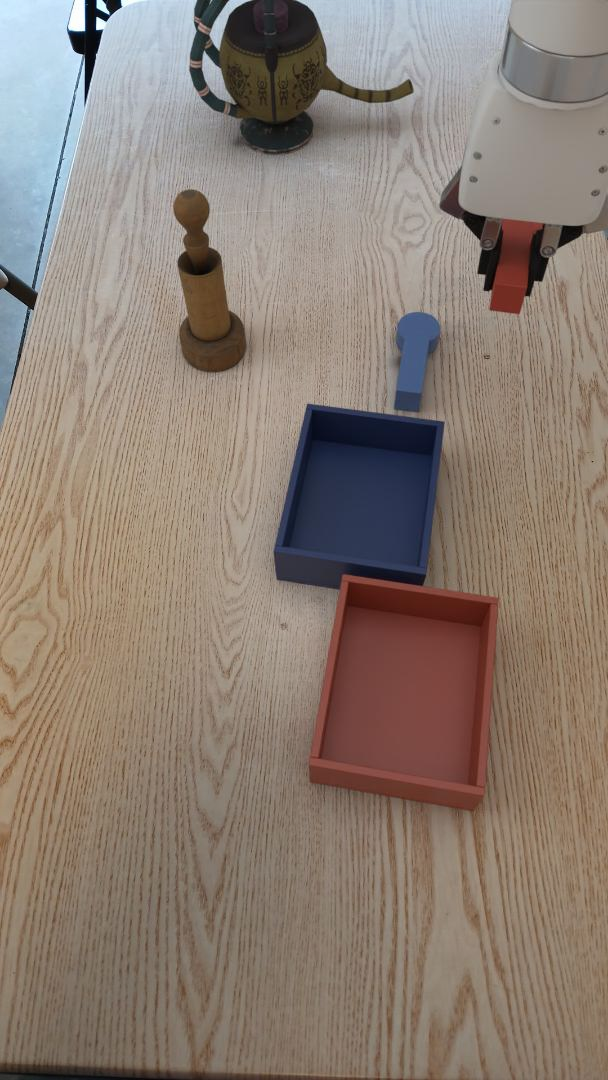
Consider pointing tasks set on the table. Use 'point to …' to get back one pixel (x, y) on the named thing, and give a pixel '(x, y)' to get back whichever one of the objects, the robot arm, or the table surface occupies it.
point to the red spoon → (513, 266)
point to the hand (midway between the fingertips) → (508, 280)
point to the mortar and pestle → (205, 293)
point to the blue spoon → (414, 357)
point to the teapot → (271, 71)
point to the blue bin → (359, 498)
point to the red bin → (407, 693)
